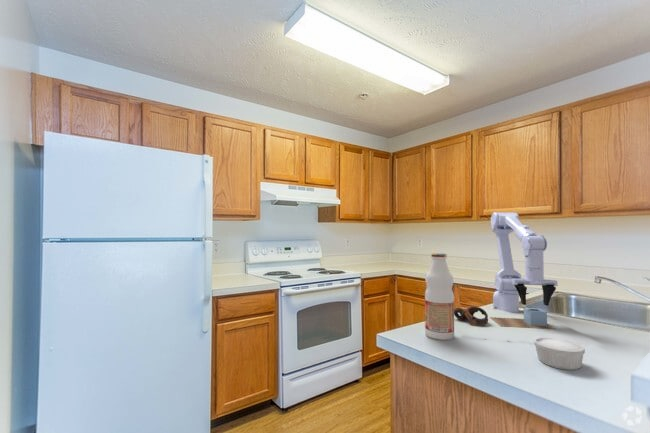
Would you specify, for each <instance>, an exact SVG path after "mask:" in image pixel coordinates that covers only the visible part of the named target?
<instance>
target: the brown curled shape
mask: <svg viewBox="0 0 650 433" xmlns="http://www.w3.org/2000/svg"><path fill="white" fill-rule="evenodd" d="M478 312H480V313H481V315H484V317H483V318H479V317H476V316H475V313H478ZM488 317H489V315H488V313H487V312H486V310H484V309H483V308H482V307H478V306H475V305H474V306H473V305H471V306H468V307H466V308H465V309H463V308H460V307H456V308H454V318H457V320H459V321H460V322H462V321H463V320H467V319H468V321H469V322H470V326H474V327H475V326H476V327H483V326H486V325H487V324H488V323H489V318H488Z"/></svg>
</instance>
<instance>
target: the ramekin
mask: <svg viewBox="0 0 650 433" xmlns="http://www.w3.org/2000/svg"><path fill="white" fill-rule="evenodd" d="M534 345H535V350H536V354H537V358H538V360H539V361H540V362H541V363H543V365H547V366H549V367H553V368H557V369H560V370H571V371H573V370H579V369H580V368H581V367H582V365H583V359H584V354H585V353H586V352H585V350H586V349H585V347H583V345H581V344H579V343H576V342H574V341H571V340H568V339H561V338H558V337H557V338H556V337H537V338H535V339H534Z"/></svg>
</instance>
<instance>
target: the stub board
mask: <svg viewBox="0 0 650 433" xmlns="http://www.w3.org/2000/svg"><path fill="white" fill-rule="evenodd" d="M489 319H491V320H492V321H493V322H494V323H496V324H497V326H500V328H503V327H504V328H520V329H521V328H523V329H541V330H542V329H543V330H556V328H555V327H553V326H551V325H549V324H548V323H547V326H531V325H529V324H528V323H526V322H525V321H524V318H515V317H514V318H513V317H511V318H510V317H509V318H508V317H496V316H494V317H493V316H491V317H489Z"/></svg>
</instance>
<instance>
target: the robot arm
mask: <svg viewBox="0 0 650 433" xmlns="http://www.w3.org/2000/svg"><path fill="white" fill-rule="evenodd" d="M519 216H520V215H519V214H518V213H517V212H514V211H513V212H495V211H494V212H493V213H492V214H491V216H490V225H491V231H492V232H493V233H494V234H495V239H496V246H497V251H498V258H499V264H500V270H499V271H498V272H496V273H495V275H494V286H495V289H496V290H495V291H494V293H493V295H492V300H493V301H492V304H493V305H492V306H493V307H492V308H493V310H499V311H502V312H509V313H519V312H520V303H521V305H523V306H524V305H525V306H526V304H527V296H526V295H527V290H528V287H527V286H541V289H542V294H543V296H542V298H543V299H542V300H543V305H544V306H546V307H548V306H549V304H550V302H551V299H552V296H553V295H554V293H555V291H556V289H557V288H556V287H558V280H557V279H545V276H544V274H545V273H544V272H545V271H544V266H545V265H544V252H545V251H546V249H547V246H548V241H547V238H546V237H545V235H539V234H536V232H534V231H533V230H532V229H531V227H530V226H529V225H525V224H524V225H523V224H522V223H521V221H520V217H519ZM513 232H514V235H515V237H516V238H517V239H518V240H519V241H520V242H521V248H522V250H523V251H522V252H523V253H522V254H523V255H524V262H525V263H524V265H525V266H524V269H525V271H524V272H525V276H524V278H523V277H522V274H521V273H520V272H519V271H517V270H515V267H514V262H513V254H512V249H511V244H510V243H511V242H510V238H509V235H510V233H513ZM526 285H527V286H526Z"/></svg>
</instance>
